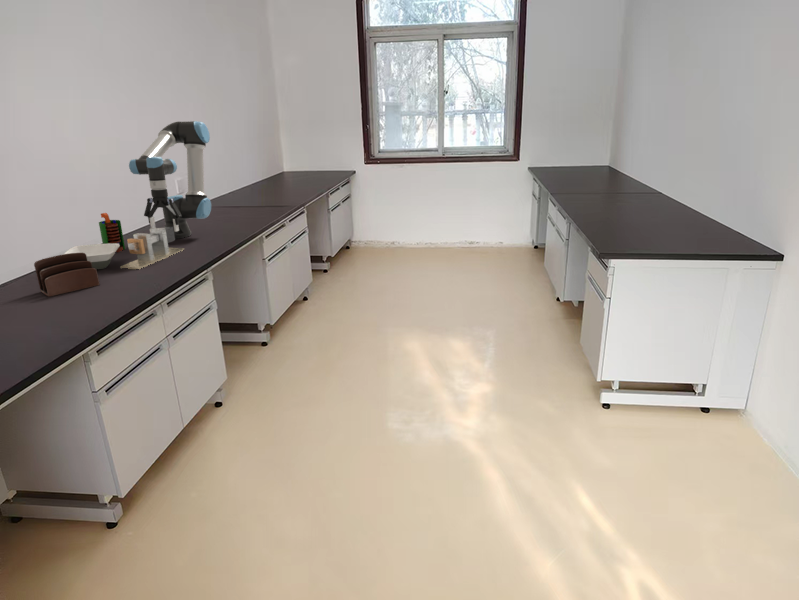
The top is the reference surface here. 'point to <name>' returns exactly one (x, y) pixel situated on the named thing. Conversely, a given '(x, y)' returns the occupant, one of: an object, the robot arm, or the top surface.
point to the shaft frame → (154, 254)
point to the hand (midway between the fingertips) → (165, 230)
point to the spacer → (141, 246)
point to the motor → (111, 232)
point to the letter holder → (65, 274)
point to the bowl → (96, 253)
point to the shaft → (155, 238)
